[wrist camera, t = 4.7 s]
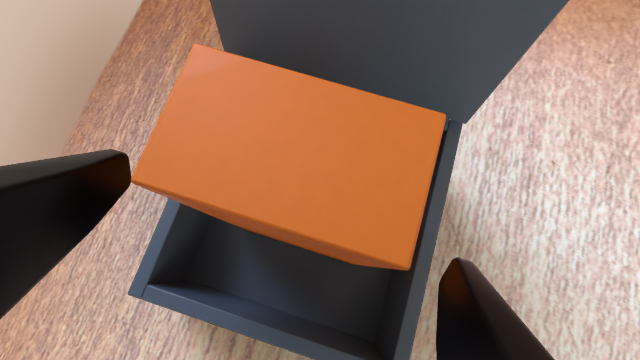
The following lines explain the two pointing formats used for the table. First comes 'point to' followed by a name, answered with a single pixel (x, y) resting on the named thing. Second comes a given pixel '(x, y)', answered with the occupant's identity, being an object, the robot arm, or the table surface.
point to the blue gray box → (293, 281)
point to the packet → (295, 158)
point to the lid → (392, 44)
